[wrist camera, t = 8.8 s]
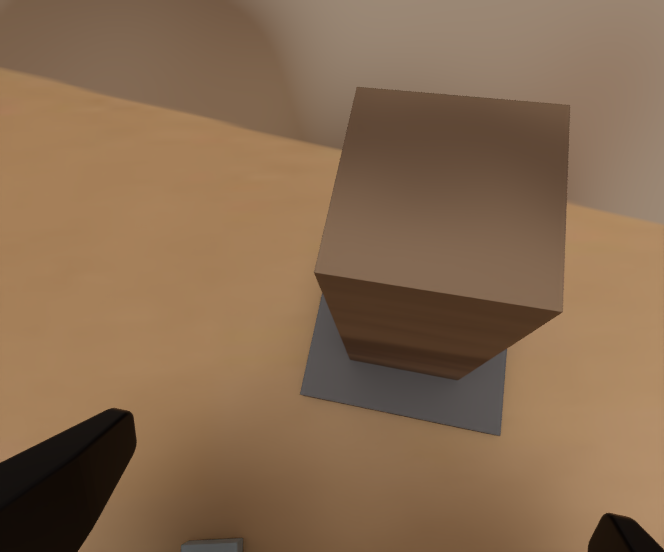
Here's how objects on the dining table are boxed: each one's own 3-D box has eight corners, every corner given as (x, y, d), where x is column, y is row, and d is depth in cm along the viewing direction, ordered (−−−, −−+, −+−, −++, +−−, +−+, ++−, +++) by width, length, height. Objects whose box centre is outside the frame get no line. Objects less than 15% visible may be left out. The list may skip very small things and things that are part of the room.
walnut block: (461, 381, 20) (570, 313, 8) (349, 359, 20) (313, 272, 9) (472, 278, 21) (576, 106, 10) (368, 262, 22) (356, 86, 11)
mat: (498, 435, 19) (500, 435, 19) (301, 394, 20) (300, 394, 20) (512, 249, 22) (514, 246, 22) (338, 224, 23) (337, 222, 23)
